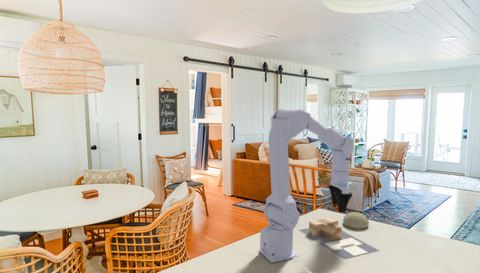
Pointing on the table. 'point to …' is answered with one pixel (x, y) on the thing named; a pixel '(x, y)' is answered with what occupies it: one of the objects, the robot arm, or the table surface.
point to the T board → (343, 245)
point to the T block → (326, 228)
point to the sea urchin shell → (355, 220)
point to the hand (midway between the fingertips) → (338, 208)
